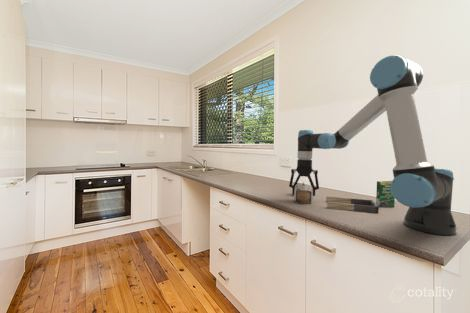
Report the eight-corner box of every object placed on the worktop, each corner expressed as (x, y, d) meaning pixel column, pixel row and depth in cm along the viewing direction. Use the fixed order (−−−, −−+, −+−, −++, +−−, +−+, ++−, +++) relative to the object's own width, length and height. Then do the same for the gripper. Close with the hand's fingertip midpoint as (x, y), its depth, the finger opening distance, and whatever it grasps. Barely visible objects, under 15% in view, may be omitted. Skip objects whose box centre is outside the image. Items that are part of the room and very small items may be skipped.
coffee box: (378, 207, 112) (380, 181, 112) (375, 205, 115) (376, 180, 114) (394, 207, 112) (396, 181, 112) (390, 205, 115) (392, 180, 114)
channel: (378, 213, 102) (378, 207, 102) (326, 208, 110) (327, 202, 110) (372, 206, 115) (372, 200, 114) (326, 201, 122) (326, 196, 122)
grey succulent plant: (303, 202, 135) (310, 191, 129) (290, 196, 136) (296, 185, 130) (305, 192, 142) (312, 181, 136) (292, 187, 143) (298, 176, 137)
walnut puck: (311, 204, 116) (311, 193, 116) (295, 203, 118) (296, 192, 118) (310, 200, 124) (311, 190, 123) (295, 199, 126) (296, 189, 125)
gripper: (325, 159, 119) (323, 201, 120) (285, 157, 126) (284, 197, 128) (325, 160, 112) (324, 204, 113) (284, 158, 119) (282, 200, 121)
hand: (303, 200), depth 120 cm, fingers closed on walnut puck, 8 cm apart
